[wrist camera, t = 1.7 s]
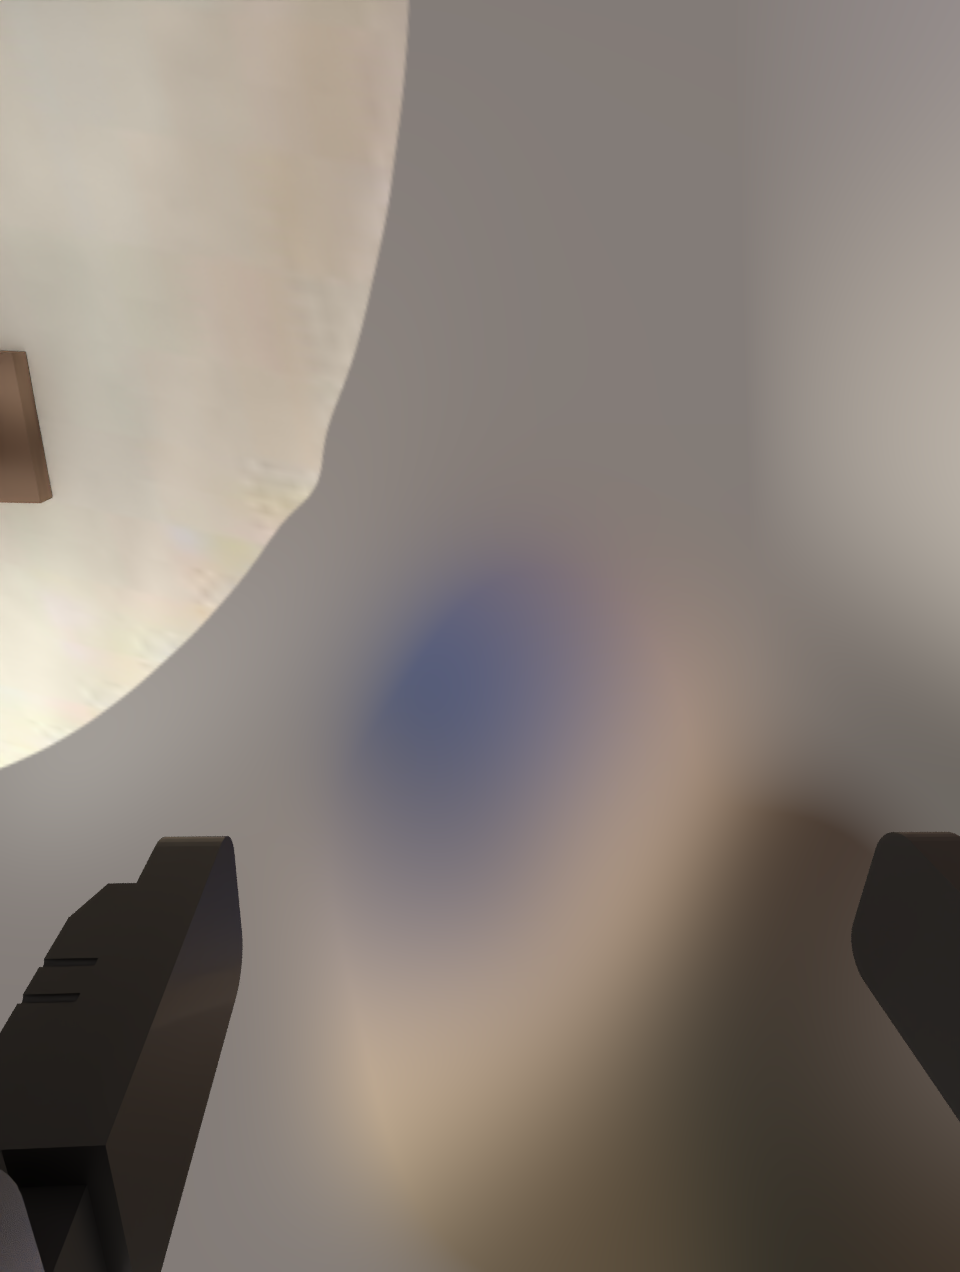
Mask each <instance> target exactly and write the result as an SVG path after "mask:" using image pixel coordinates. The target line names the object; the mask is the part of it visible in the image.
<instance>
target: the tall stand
mask: <svg viewBox="0 0 960 1272" xmlns="http://www.w3.org/2000/svg"><path fill="white" fill-rule="evenodd" d="M50 498H52V493H51V487H50V482H49V476H48V471H47V466H46V460H45V455H44V449H43V444H42V439H41V433H40V428H39V422H38V417H37V412H36V406H35V401H34V395H33V390H32V385H31V379H30V374H29V368H28V363H27V358H26V352H16V351H0V502H7V503H42V502H44V501H46V500H48V499H50Z"/></svg>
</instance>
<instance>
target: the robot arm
mask: <svg viewBox="0 0 960 1272" xmlns="http://www.w3.org/2000/svg"><path fill="white" fill-rule="evenodd" d="M851 942H852V951H853V956H854V959H855V963H856V966H857V968H858V971H859V973H860V975H861V977H862V979H863V980H864V982H865V983H866V985H867V986H868V988H869V989H870V991H871V992H872V994H873V995H874V997H875V998H876V1000H877V1001H878V1002H879V1004H880V1005H881V1007H882V1008H883V1010H884V1011H885V1013H886V1014H887V1016H888V1017H889V1019H890V1020H891V1022H892V1023H893V1024H894V1026H895V1027H896V1029H897V1030H898V1032H899V1033H900V1035H901V1036H902V1038H903V1039H904V1041H905V1042H906V1043H907V1045H908V1046H909V1048H910V1049H911V1051H912V1052H913V1054H914V1055H915V1057H916V1058H917V1060H918V1061H919V1062H920V1064H921V1065H922V1067H923V1068H924V1070H925V1071H926V1073H927V1074H928V1076H929V1077H930V1079H931V1080H932V1081H933V1083H934V1085H935V1086H936V1087H937V1089H938V1090H939V1092H940V1093H941V1095H942V1096H943V1098H944V1099H945V1101H946V1102H947V1104H948V1105H949V1106H950V1108H951V1109H952V1111H953V1112H954V1114H955V1115H956V1117H957V1118H958V1120H959V1121H960V836H958V835H956V834H954V833H951V832H891V833H887V834H886V835H884V836H883V837H882V838H881V839H880V840H879V842H878V844H877V847H876V849H875V853H874V856H873V859H872V862H871V866H870V869H869V873H868V876H867V879H866V882H865V886H864V889H863V893H862V896H861V899H860V902H859V906H858V909H857V912H856V916H855V919H854V922H853V927H852V934H851ZM241 965H242V928H241V918H240V908H239V897H238V887H237V876H236V865H235V854H234V847H233V843H232V840H231V838H230V837H229V836H207V837H206V836H202V837H201V836H198V837H197V836H196V837H163V838H161V839H160V840H159V841H158V843H157V844H156V846H155V848H154V850H153V852H152V854H151V856H150V858H149V860H148V862H147V864H146V865H145V868H144V869H143V872H142V873H141V875H140V877H139V879H138V881H137V883H116V884H107V885H106V886H105V887H104V888H103V889H101V890H100V891H99V892H98V893H97V894H96V895H94V896H93V897H92V898H91V899H90V900H89V901H88V902H86V903H85V904H84V905H83V906H82V907H81V908H79V909H78V910H77V911H76V912H75V913H74V914H72V915H71V916H70V917H69V918H68V920H67V921H66V923H65V925H64V927H63V928H62V930H61V931H60V934H59V935H58V937H57V938H56V940H55V942H54V943H53V945H52V947H51V948H50V950H49V952H48V953H47V955H46V957H45V958H44V965H43V967H39V968H38V970H37V972H36V974H35V975H34V977H33V979H32V980H31V982H30V984H29V985H28V987H27V989H26V991H25V992H24V994H23V1001H22V1003H21V1004H17V1006H16V1007H15V1009H14V1011H13V1012H12V1014H11V1016H10V1017H9V1019H8V1021H7V1022H6V1024H5V1026H4V1028H3V1029H2V1031H1V1033H0V1272H161V1269H162V1266H163V1262H164V1258H165V1255H166V1251H167V1248H168V1244H169V1240H170V1237H171V1233H172V1229H173V1226H174V1222H175V1218H176V1215H177V1211H178V1207H179V1204H180V1200H181V1196H182V1192H183V1189H184V1186H185V1182H186V1178H187V1175H188V1171H189V1167H190V1163H191V1160H192V1156H193V1153H194V1149H195V1145H196V1142H197V1138H198V1134H199V1130H200V1127H201V1123H202V1120H203V1116H204V1112H205V1109H206V1105H207V1101H208V1098H209V1094H210V1090H211V1087H212V1083H213V1079H214V1076H215V1072H216V1068H217V1065H218V1061H219V1058H220V1054H221V1050H222V1047H223V1043H224V1039H225V1036H226V1032H227V1028H228V1025H229V1021H230V1017H231V1013H232V1010H233V1006H234V1003H235V999H236V995H237V991H238V986H239V980H240V973H241Z"/></svg>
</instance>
